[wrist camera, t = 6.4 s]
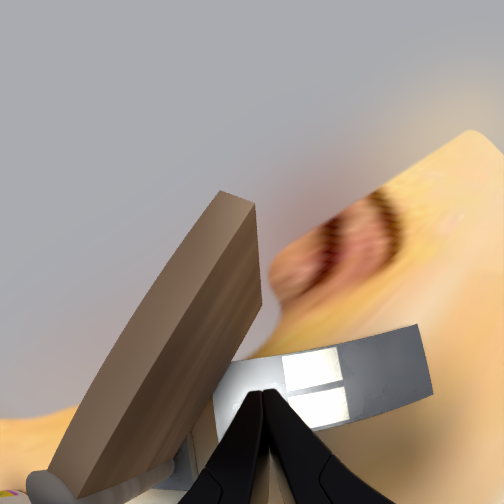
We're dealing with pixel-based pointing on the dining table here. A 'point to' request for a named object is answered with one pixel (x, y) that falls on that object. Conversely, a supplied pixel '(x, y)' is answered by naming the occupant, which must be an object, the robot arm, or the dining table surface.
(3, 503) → the supplement bottle
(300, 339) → the dining table surface
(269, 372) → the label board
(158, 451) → the walnut gate
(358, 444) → the dining table surface
